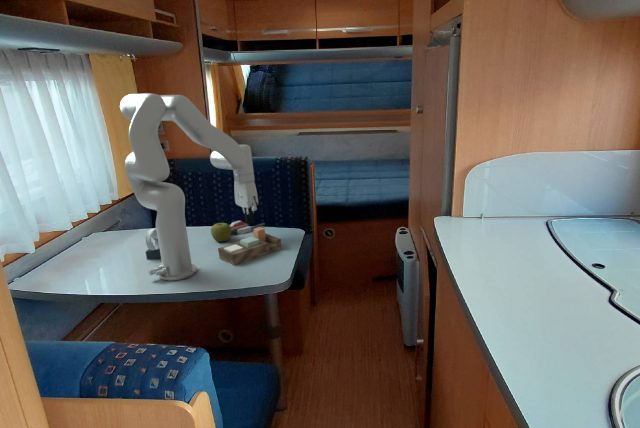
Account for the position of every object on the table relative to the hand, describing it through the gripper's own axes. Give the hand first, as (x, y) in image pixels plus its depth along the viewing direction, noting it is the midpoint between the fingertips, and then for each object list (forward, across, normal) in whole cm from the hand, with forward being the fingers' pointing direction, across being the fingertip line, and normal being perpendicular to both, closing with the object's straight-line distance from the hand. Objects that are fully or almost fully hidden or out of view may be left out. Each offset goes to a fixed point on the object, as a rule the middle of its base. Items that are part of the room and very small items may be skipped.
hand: (249, 222), depth 185 cm
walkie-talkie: (+9, -15, +5) cm, 18 cm away
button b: (+5, +11, -8) cm, 14 cm away
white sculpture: (+8, -14, -34) cm, 37 cm away
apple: (+8, -10, -8) cm, 15 cm away
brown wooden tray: (+8, +11, -8) cm, 15 cm away
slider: (+6, +7, -1) cm, 9 cm away
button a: (+6, +11, -15) cm, 19 cm away
